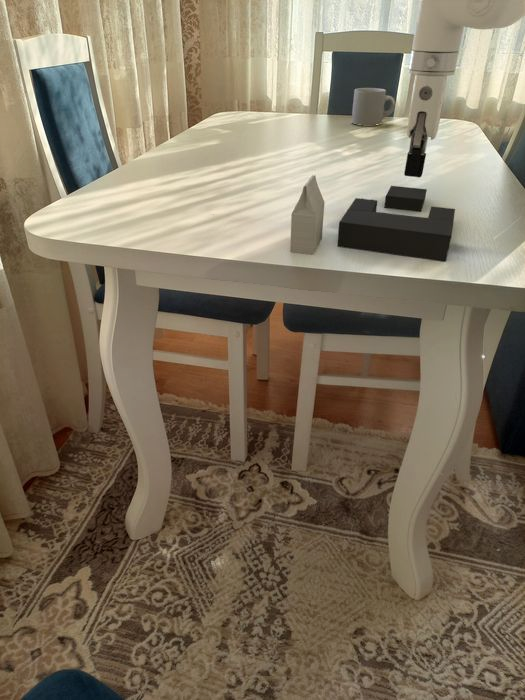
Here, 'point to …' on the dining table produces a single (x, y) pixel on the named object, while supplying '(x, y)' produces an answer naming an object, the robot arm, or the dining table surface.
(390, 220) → the big black notched block
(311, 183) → the grey milk carton
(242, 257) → the dining table surface
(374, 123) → the coffee mug
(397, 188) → the small pad
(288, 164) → the dining table surface
